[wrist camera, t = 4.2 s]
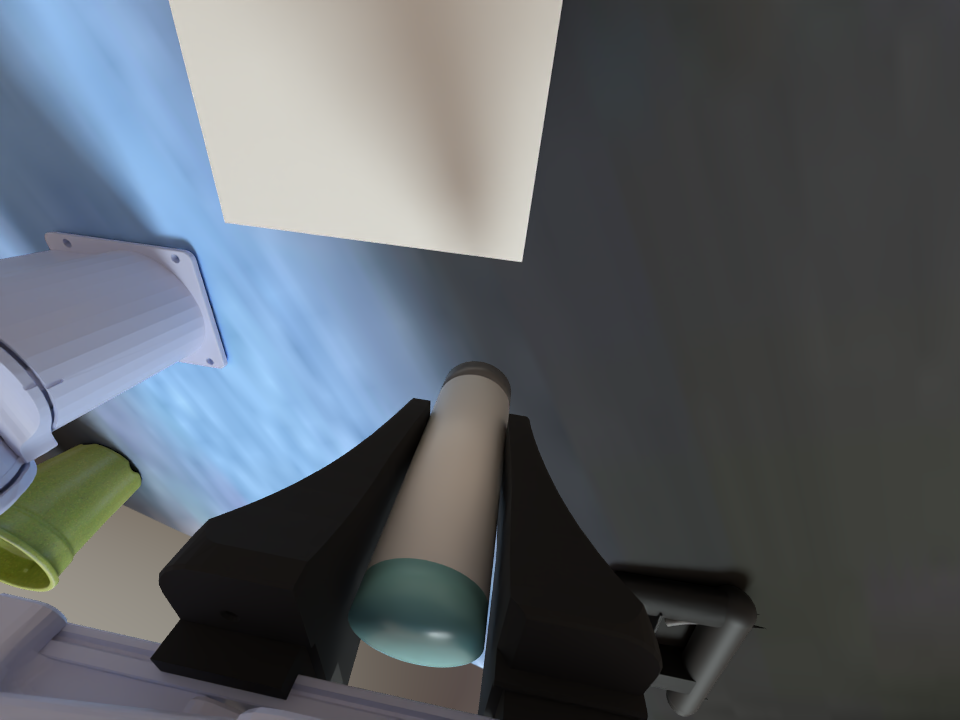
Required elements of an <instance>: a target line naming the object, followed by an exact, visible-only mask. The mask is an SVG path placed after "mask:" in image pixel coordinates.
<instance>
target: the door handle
mask: <svg viewBox="0 0 960 720" xmlns="http://www.w3.org/2000/svg"><path fill="white" fill-rule="evenodd" d="M614 573H615V574H616V575H617V576H618V577H619V578H620V579H621V580H622V582H623V583H624V584H625V585H626V586H627V587H628V588H629V589H630V590H631V591H632V592H633V594H634V595H635V596H636V597H637V598H638V599H639V600H640V601H641V602H642V603H643V604H644V606H645V609H646V611H647V614H648V617H649V619H650V622H651V624H652V627H653V630H654V633H655V634H656V631H657V629H658V626H659V624H660V621H661V619H662V618H665V622H666V624H667V626H674V625H683V624H697V625H696V627H695V629H694V631H693V633H692V635H691V637H690V639H689V641H688V643H687V645H686V646H685V648H684V647H676V646H669V645H662V644H658V645H659V649H660V653H661V657H662V664H663V668H662V670H661V672H660V674H659V675H658V677H657V678H656V679H655V681H654V682H653V683H652V684H651V685H650V686H653V687H657V688H662V689H666V690H667V692H666V696H667V700H668V703H669V705H670V706H671V708H672V709H673V710H674V711H675V712H676V713H677V714H679V715H681V716H685V717H686V716H689V715H691V714H694V713H695V712H696V711H697V710H698V708H699V707H700V705H701V704H702V702H703V701H704V700H708V699H707V698H706V696H707V695H708V693H709V692H710V690H711V689H712V687H713V686H714V684H715V683H716V681H717V680H718V678H719V677H720V675H721V674H722V672H723V671H724V669H725V668H726V666H727V665H728V663H729V662H730V660H731V659H732V657H733V656H734V654H735V653H736V651H737V650H738V648H739V647H740V645H741V644H742V642H743V641H744V639H745V638H746V636H747V635H748V633H749V632H750V630H751V629H752V628H762V627H759V626H755V625H754V624H755V622H756V619H757V615H759V614H757V612H756V608H755V605H754V603H753V602H752V600H751V599H750V597H749V596H748V595H747V594H746V593H745V592H743V591H742V590H740V589H739V588H737V587H734V586H730V585H722V586H719V587H717V588H715V587H709V586H703V585H697V584H691V583H685V582H679V581H673V580H667V579H661V578H655V577H649V576H643V575H637V574H630V573H624V572H618V571H616V572H614ZM765 629H766V628H765Z"/></svg>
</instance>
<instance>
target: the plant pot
mask: <svg viewBox="0 0 960 720" xmlns="http://www.w3.org/2000/svg"><path fill="white" fill-rule="evenodd" d="M140 485H141V477H140V475H139V473H137V472H133V471H132V470H131V468H130V466H129V461H128V460H126V459H125V458H124V457H123V456H121V455H120V454H118V453H116V452H114V451H112V450H110V449H108V448H106V447H104V446H101V445H98V444H90V445H83V444H80V445H78V446H76V447H73V448H71V449H69V450H67V451H65V452H63V453H61V454H59V455H57V456H55V457H53V458H51V459H49V460H47V461H45V462H43V463H41V464H39V465H37V473H36V476H35V478H34V480H33V482H32V483H31V484H30V486H29V487H28V488H27V490H26V491H25V492H24V493H23V494H22V495H21V496H20V497H19V498H18V499H17V501H16V502H15V503H14V504H13V505H12V506H11V507H10V508H8V509H7V510H6V511H5V512H4V513H3V514H1V515H0V582H2V583H5V584H7V585H11V586H14V587H18V588H22V589H26V590H33V591H48V590H51V589H52V588H54V587H55V586H56V585H57V584H58V582H59V578H58V576H59V575H60V574H61V573H62V572H63V571H64V570H65V569H66V567H67V566H68V565H69V564H70V563H71V562H72V560H73V557H74V555H75V554H76V553H77V552H78V551H79V550H80V548H81V547H82V546H83V545H84V544H85V543H86V542H87V541H88V540H89V539H90V538H91V537H92V536H93V535H94V534H95V533H96V531H97V530H98V529H99V528H100V527H101V526H102V525H103V524H104V523H105V522H106V521H107V520H108V519H109V518H110V517H111V516H112V515H113V514H114V513H115V512H116V511H117V510H118V509H119V508H120V507H121V506H122V505H123V504H124V503H125V502H126V500H127V499H128V498H129V497H130V496H131V495H132V494H133V493H134V492H135V491H136V490H137V489H138V488H139V487H140Z"/></svg>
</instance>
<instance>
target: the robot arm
mask: <svg viewBox="0 0 960 720" xmlns="http://www.w3.org/2000/svg"><path fill="white" fill-rule="evenodd" d="M45 240H46V242H47V244H48V246H49V248H50V250H48V251H43V252H37V253H32V254H26V255H21V256H15V257H10V258H4V259H0V515H1V514H3V513H4V512H5V511H6V510H7V509H8V508H10V507H11V506H12V505H13V504H14V503H15V502H16V501H17V499H18V498H19V497H20V496H21V495H22V494H23V493H24V492H25V491H26V490H27V488H28V487H29V486H30V484H31V483H32V482H33V480H34V478H35V476H36V473H37V466H36V463H35V461H34V459H36V458H37V457H39V456H41V455H43V454H44V453H46V452H48V451H49V450H51V449H53V448H54V447H56V446H57V445H58V443H57V442H56V440H55V439H54V437H53V435H52V432H53V431H55V430H57V429H59V428H60V427H62V426H64V425H66V424H67V423H69V422H71V421H73V420H75V419H76V418H78V417H80V416H82V415H84V414H85V413H87V412H89V411H91V410H93V409H94V408H96V407H98V406H100V405H101V404H103V403H105V402H107V401H109V400H110V399H112V398H114V397H116V396H118V395H119V394H121V393H123V392H125V391H127V390H128V389H130V388H132V387H134V386H136V385H137V384H139V383H141V382H143V381H144V380H146V379H148V378H150V377H152V376H153V375H155V374H157V373H159V372H161V371H162V370H164V369H166V368H168V367H170V366H171V365H173V364H175V363H177V362H183V363H189V364H195V365H201V366H207V367H213V368H223V367H225V366H226V365H227V364H228V363H227V358H226V355H225V352H224V349H223V345H222V342H221V339H220V336H219V332H218V329H217V326H216V323H215V319H214V316H213V313H212V310H211V306H210V303H209V300H208V297H207V293H206V290H205V287H204V284H203V280H202V277H201V274H200V271H199V267H198V264H197V261H196V258H195V256H194V255H193V254H192V253H191V252H189V251H187V250H183V249H176V248H168V247H161V246H154V245H147V244H140V243H133V242H125V241H118V240H111V239H104V238H97V237H90V236H82V235H75V234H68V233H61V232H48V233H46V234H45ZM177 256H178V258H179V259H178V258H177ZM429 417H430V401H428V400H422V399H416V398H413V399H412V400H410V401H409V402H408V403H407V404H406V405H405V406H404V407H403V408H402V409H401V410H400V411H399V412H397V413H396V414H395V415H394V416H393V417H392V418H391V419H390V420H388V421H387V422H386V423H385V424H384V425H382V426H381V427H380V428H379V429H378V430H377V431H375V432H374V433H373V434H372V435H370V436H369V437H368V438H366V439H365V440H364V441H362V442H361V443H360V444H358V445H357V446H356V447H354V448H353V449H352V450H350V451H349V452H347V453H346V454H344V455H343V456H341V457H340V458H338V459H337V460H335V461H334V462H332V463H331V464H329V465H327V466H326V467H324V468H322V469H321V470H319V471H317V472H315V473H313V474H312V475H310V476H308V477H306V478H304V479H302V480H300V481H299V482H297V483H295V484H293V485H291V486H289V487H287V488H284V489H282V490H280V491H278V492H276V493H274V494H272V495H269V496H267V497H265V498H263V499H260V500H258V501H255V502H253V503H251V504H248V505H246V506H243V507H240V508H238V509H235V510H232V511H230V512H227V513H225V514H222V515H219V516H217V517H214V518H211V519H209V520H208V521H207V522H206V523H205V524H204V525H203V526H202V527H201V528H200V529H199V530H198V531H197V532H196V533H195V534H194V535H193V536H192V537H191V538H190V539H189V541H188V542H187V543H186V544H185V545H184V546H183V547H182V548H181V549H180V551H179V552H178V553H177V554H176V555H175V556H174V557H173V558H172V560H171V561H170V562H169V563H168V564H167V565H166V566H165V567H164V568H163V570H162V571H161V572H160V573H159V586H160V588H161V590H162V592H163V594H164V595H165V597H166V598H167V600H168V601H169V603H170V604H171V606H172V607H173V609H174V610H175V611H176V613H177V614H178V616H179V618H180V620H179V622H178V623H177V624H176V626H175V627H174V628H173V630H172V631H171V632H170V633H169V635H168V636H167V637H166V639H165V640H164V641H163V642H162V644H161V643H157V642H152V641H148V640H144V639H139V638H135V637H130V636H126V635H121V634H117V633H112V632H108V631H104V630H99V629H95V628H90V627H86V626H81V625H77V624H73V623H68V622H67V619H66V617H65V616H64V615H63V614H62V613H61V612H60V611H59V610H58V609H56V608H55V607H53V606H51V605H49V604H47V603H43V602H41V601H37V600H32V599H27V598H23V597H18V596H14V595H9V594H5V593H2V594H0V720H647V717H648V713H647V708H646V703H645V698H644V692H645V691H646V690H647V689H648V688H649V686H650V685H651V684H652V683H653V682H654V681H655V679H656V678H657V677H658V675H659V674H660V672H661V670H662V668H663V664H662V657H661V653H660V649H659V645H658V642H657V638H656V635H655V633H654V630H653V627H652V624H651V622H650V619H649V617H648V614H647V611H646V609H645V606H644V604H643V603H642V602H641V601H640V600H639V599H638V598H637V597H636V596H635V595H634V594H633V592H632V591H631V590H630V589H629V588H628V587H627V586H626V585H625V584H624V583H623V582H622V580H621V579H620V578H619V577H618V576H617V575H616V574H615V573H614V571H613V570H612V569H611V568H610V567H609V565H608V564H607V563H606V562H605V560H604V559H603V558H602V557H601V555H600V554H599V553H598V552H597V550H596V549H595V547H594V546H593V545H592V543H591V542H590V541H589V539H588V538H587V537H586V535H585V534H584V533H583V531H582V530H581V528H580V527H579V526H578V524H577V522H576V521H575V519H574V518H573V516H572V515H571V513H570V512H569V510H568V508H567V507H566V505H565V503H564V502H563V500H562V498H561V497H560V495H559V493H558V491H557V489H556V487H555V485H554V483H553V481H552V479H551V477H550V475H549V473H548V471H547V469H546V467H545V465H544V462H543V460H542V457H541V455H540V453H539V450H538V447H537V445H536V442H535V439H534V436H533V433H532V429H531V425H530V420H529V419H528V417H526V416H520V415H514V414H509V418H508V424H507V430H506V439H505V449H504V464H503V473H502V483H501V492H500V502H499V511H498V521H497V552H496V564H495V573H494V582H493V591H492V600H491V609H490V618H489V626H488V635H487V643H486V652H485V660H484V669H483V677H482V685H481V693H480V702H479V710H478V715H477V714H472V713H467V712H463V711H459V710H454V709H449V708H445V707H441V706H437V705H432V704H428V703H423V702H419V701H414V700H410V699H405V698H401V697H396V696H392V695H388V694H383V693H379V692H374V691H370V690H366V689H361V688H356V687H352V686H348V682H349V678H350V675H351V671H352V668H353V664H354V661H355V657H356V654H357V650H358V647H359V643H360V640H361V639H360V638H359V637H358V636H357V635H356V634H355V632H354V631H353V630H352V628H351V626H350V624H349V621H348V614H349V610H350V608H351V606H352V603H353V601H354V598H355V596H356V594H357V591H358V589H359V586H360V584H361V581H362V579H363V577H364V574H365V572H366V569H367V567H368V565H369V562H370V560H371V557H372V555H373V552H374V550H375V548H376V545H377V543H378V540H379V538H380V536H381V533H382V531H383V528H384V526H385V524H386V521H387V519H388V516H389V514H390V511H391V509H392V507H393V504H394V502H395V499H396V497H397V495H398V492H399V490H400V487H401V485H402V483H403V480H404V478H405V475H406V473H407V470H408V468H409V466H410V463H411V461H412V458H413V456H414V454H415V451H416V449H417V446H418V444H419V442H420V439H421V437H422V434H423V432H424V429H425V427H426V425H427V422H428V420H429Z"/></svg>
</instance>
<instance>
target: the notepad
mask: <svg viewBox="0 0 960 720" xmlns="http://www.w3.org/2000/svg"><path fill="white" fill-rule="evenodd" d="M562 1H563V0H169V3H170V7H171V11H172V15H173V19H174V23H175V27H176V31H177V35H178V39H179V43H180V47H181V51H182V55H183V58H184V62H185V66H186V70H187V74H188V78H189V82H190V86H191V90H192V94H193V98H194V102H195V106H196V110H197V114H198V118H199V122H200V126H201V130H202V134H203V137H204V141H205V145H206V149H207V153H208V157H209V161H210V165H211V169H212V173H213V177H214V181H215V185H216V189H217V193H218V197H219V201H220V205H221V209H222V213H223V216H224V220H225V223H232V224H239V225H247V226H255V227H262V228H270V229H277V230H285V231H292V232H300V233H307V234H315V235H323V236H330V237H338V238H345V239H353V240H360V241H368V242H375V243H383V244H390V245H398V246H406V247H413V248H421V249H428V250H436V251H443V252H451V253H458V254H466V255H474V256H481V257H489V258H496V259H504V260H511V261H519V262H522V258H523V252H524V245H525V239H526V232H527V226H528V220H529V213H530V207H531V200H532V194H533V188H534V181H535V175H536V168H537V162H538V155H539V149H540V143H541V136H542V130H543V123H544V117H545V110H546V104H547V98H548V91H549V85H550V78H551V72H552V66H553V59H554V53H555V46H556V40H557V33H558V27H559V21H560V14H561V8H562Z"/></svg>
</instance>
